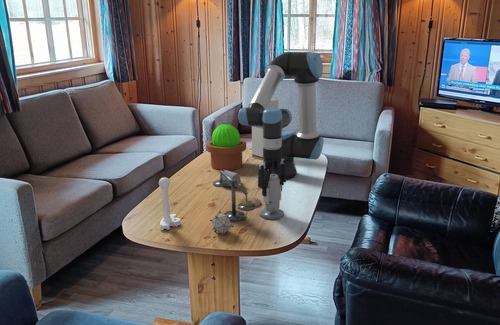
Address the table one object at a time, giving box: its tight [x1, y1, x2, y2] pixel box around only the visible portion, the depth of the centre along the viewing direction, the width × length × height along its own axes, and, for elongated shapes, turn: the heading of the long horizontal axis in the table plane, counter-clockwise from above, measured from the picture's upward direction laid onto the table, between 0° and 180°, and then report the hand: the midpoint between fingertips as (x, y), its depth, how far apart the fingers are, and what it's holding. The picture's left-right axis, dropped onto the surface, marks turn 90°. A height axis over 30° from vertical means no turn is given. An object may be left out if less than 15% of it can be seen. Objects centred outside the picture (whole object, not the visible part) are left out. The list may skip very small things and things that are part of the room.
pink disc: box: [237, 196, 261, 208], centre depth 202 cm, size 10×10×1 cm
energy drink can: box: [264, 174, 281, 212], centre depth 187 cm, size 6×6×15 cm
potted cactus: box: [205, 122, 247, 171], centre depth 253 cm, size 22×22×25 cm
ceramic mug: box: [222, 170, 242, 188], centre depth 225 cm, size 11×8×8 cm
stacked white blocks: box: [251, 98, 279, 161], centre depth 268 cm, size 11×11×35 cm
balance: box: [212, 170, 256, 223], centre depth 186 cm, size 25×9×18 cm, turn 37°
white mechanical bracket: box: [158, 177, 181, 231], centre depth 179 cm, size 11×8×20 cm
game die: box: [209, 210, 235, 236], centre depth 173 cm, size 9×8×10 cm
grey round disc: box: [260, 208, 285, 221], centre depth 190 cm, size 10×10×1 cm
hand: (272, 200), depth 188 cm, fingers closed on energy drink can, 6 cm apart
